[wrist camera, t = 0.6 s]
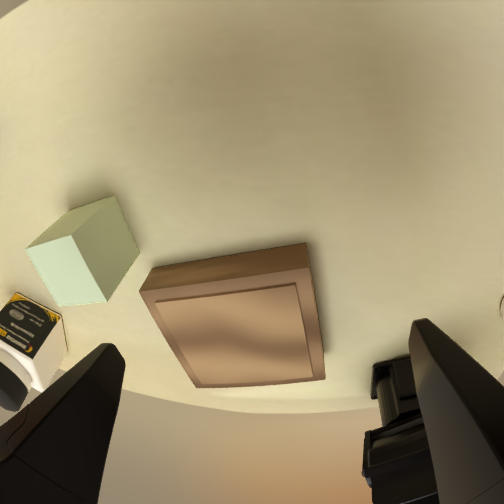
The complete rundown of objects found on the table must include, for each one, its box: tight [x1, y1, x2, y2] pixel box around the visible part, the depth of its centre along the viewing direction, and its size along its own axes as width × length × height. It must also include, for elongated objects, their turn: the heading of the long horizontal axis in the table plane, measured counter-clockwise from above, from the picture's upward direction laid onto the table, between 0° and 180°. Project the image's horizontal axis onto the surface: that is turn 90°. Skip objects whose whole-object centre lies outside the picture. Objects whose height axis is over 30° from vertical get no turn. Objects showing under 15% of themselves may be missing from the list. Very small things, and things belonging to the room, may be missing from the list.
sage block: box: [25, 195, 140, 307], centre depth 20 cm, size 5×5×6 cm
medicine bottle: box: [0, 293, 67, 412], centre depth 25 cm, size 7×7×12 cm
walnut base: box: [139, 243, 325, 388], centre depth 24 cm, size 12×12×3 cm
